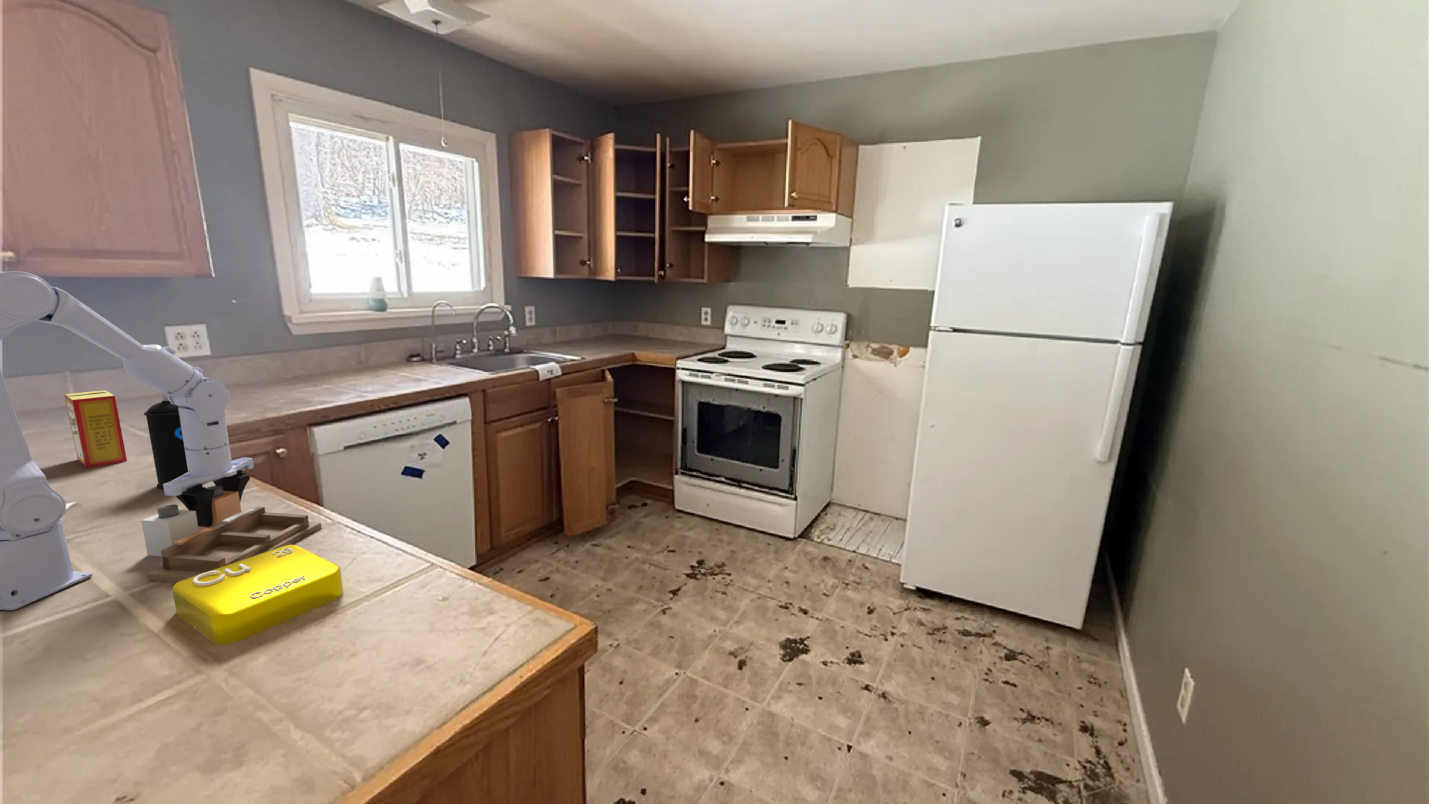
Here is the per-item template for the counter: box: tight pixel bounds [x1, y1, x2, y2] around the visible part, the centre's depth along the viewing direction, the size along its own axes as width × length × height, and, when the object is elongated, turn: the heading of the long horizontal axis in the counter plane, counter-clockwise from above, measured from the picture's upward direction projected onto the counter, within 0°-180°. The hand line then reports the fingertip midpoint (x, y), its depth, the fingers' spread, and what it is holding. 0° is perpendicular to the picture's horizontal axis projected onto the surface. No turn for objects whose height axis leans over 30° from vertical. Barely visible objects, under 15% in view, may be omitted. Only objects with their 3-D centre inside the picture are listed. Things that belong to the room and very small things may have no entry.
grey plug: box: [141, 504, 199, 557], centre depth 92 cm, size 4×4×7 cm
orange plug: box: [198, 485, 242, 531], centre depth 100 cm, size 4×4×7 cm
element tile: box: [171, 544, 344, 645], centre depth 79 cm, size 15×15×5 cm
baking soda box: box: [63, 389, 128, 469], centre depth 131 cm, size 10×6×16 cm
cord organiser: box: [146, 506, 322, 583], centre depth 93 cm, size 20×11×4 cm, turn 176°
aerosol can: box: [143, 393, 191, 490], centre depth 119 cm, size 8×8×20 cm
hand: (218, 520), depth 100 cm, fingers closed on orange plug, 4 cm apart
